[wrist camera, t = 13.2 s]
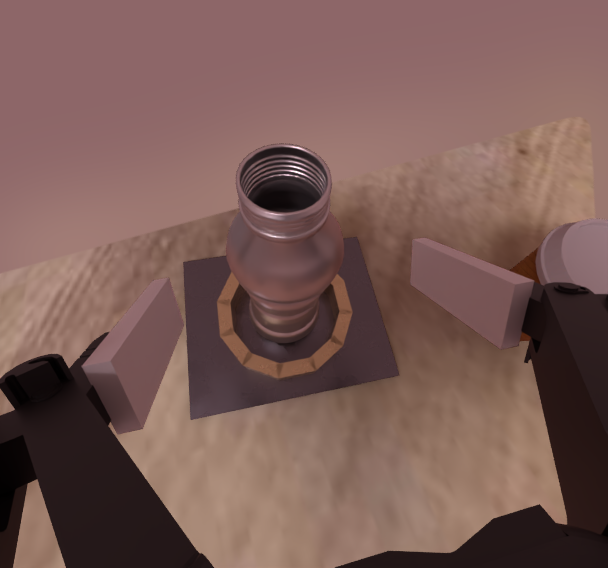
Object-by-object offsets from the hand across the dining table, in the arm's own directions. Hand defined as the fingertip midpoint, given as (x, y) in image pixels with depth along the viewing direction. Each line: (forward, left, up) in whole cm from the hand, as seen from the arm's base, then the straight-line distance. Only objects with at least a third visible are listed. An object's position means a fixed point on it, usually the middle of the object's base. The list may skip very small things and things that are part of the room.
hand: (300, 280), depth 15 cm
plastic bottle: (-1, +2, -15) cm, 15 cm away
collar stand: (0, +2, -15) cm, 15 cm away
